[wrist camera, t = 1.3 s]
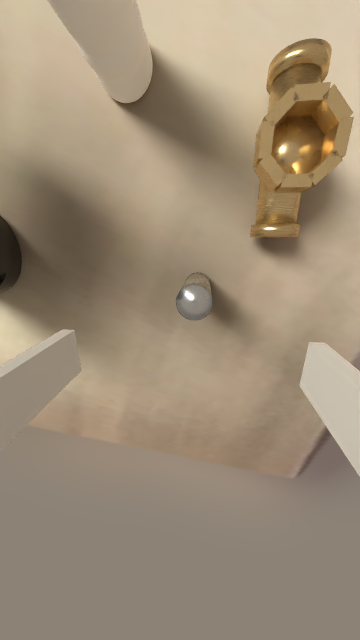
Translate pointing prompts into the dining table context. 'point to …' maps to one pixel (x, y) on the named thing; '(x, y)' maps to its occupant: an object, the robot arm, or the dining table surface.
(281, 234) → the tee fitting
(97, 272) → the dining table surface
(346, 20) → the dining table surface
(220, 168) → the dining table surface
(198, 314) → the metal cylinder
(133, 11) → the water bottle
